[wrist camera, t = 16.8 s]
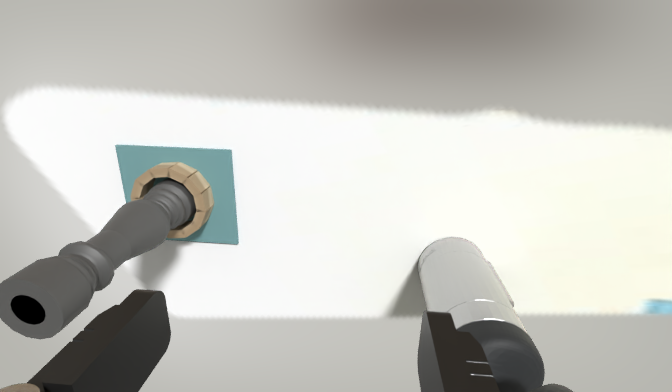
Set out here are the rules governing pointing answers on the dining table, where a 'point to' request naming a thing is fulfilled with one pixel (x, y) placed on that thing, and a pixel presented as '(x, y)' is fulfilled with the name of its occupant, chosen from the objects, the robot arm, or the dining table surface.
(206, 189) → the segmented wooden ring
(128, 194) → the runner mat
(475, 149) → the dining table surface
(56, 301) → the candle holder
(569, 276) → the dining table surface
